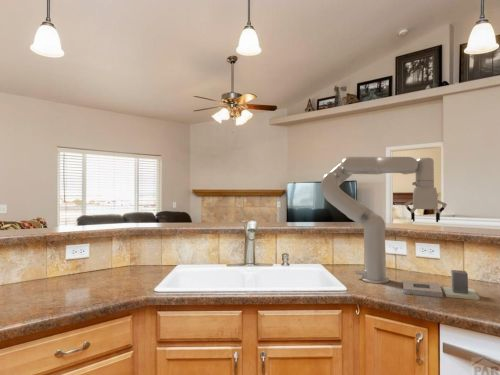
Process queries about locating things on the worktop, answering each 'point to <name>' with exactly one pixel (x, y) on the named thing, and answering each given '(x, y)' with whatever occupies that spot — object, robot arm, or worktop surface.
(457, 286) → the block
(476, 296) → the board
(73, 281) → the worktop surface
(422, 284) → the socket plate
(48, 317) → the worktop surface
